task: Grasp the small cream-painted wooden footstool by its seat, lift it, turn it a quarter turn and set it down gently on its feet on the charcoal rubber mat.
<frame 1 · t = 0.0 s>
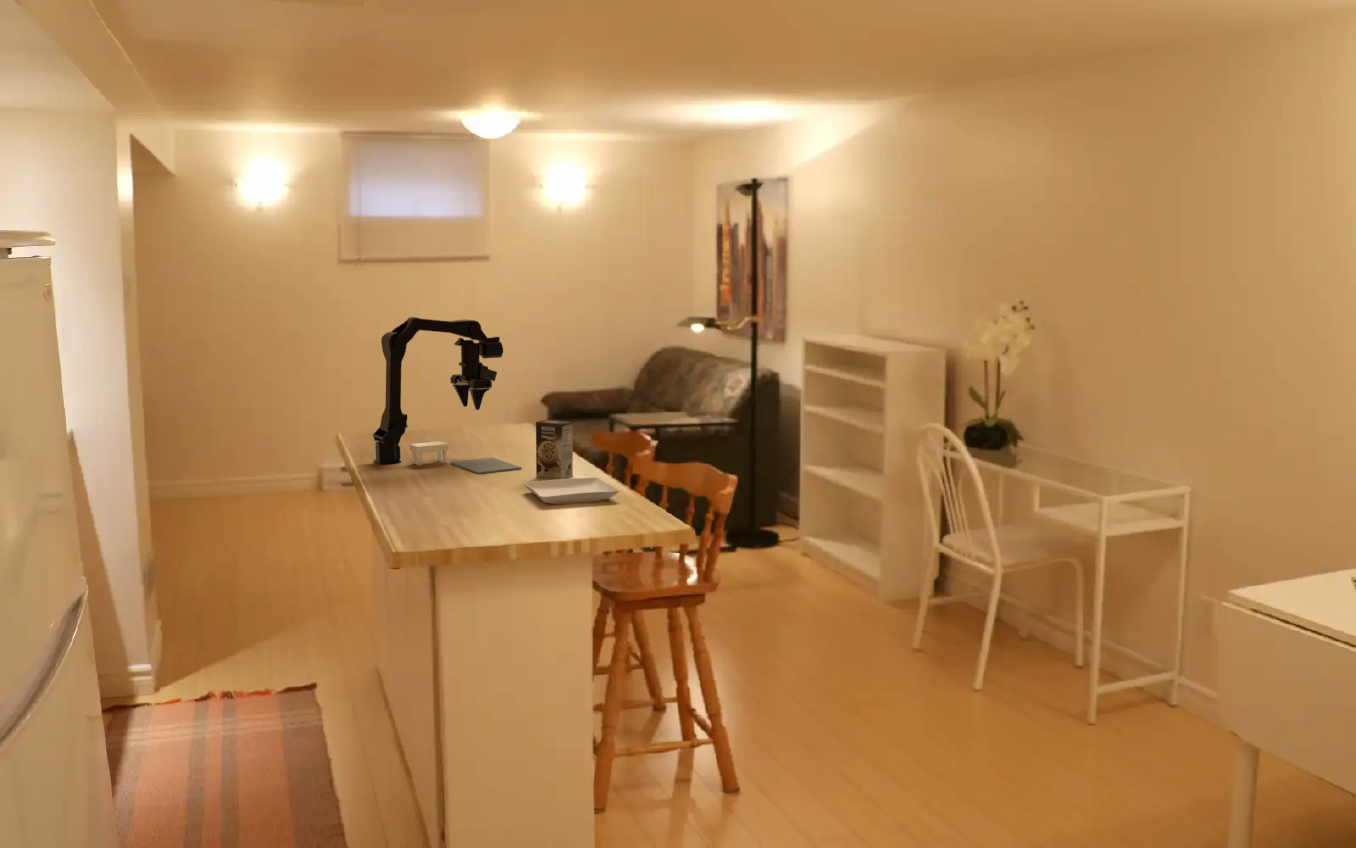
hand: (471, 408, 381), 15 cm above the table, fingers open, 9 cm apart
mat: (485, 466, 361), on the table
footstool: (429, 463, 366), on the table
coffee box: (554, 477, 346), on the table
salad plate: (570, 498, 319), on the table
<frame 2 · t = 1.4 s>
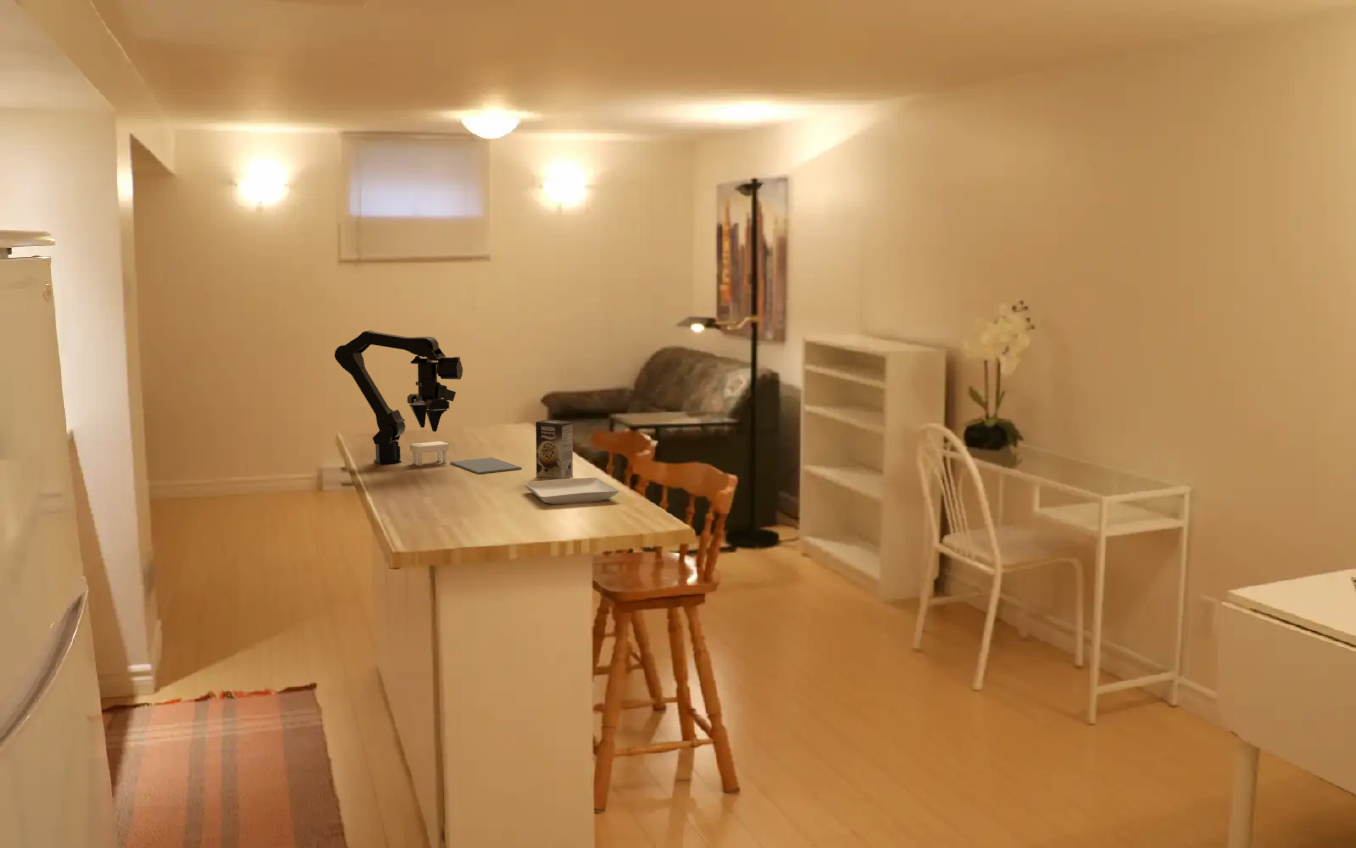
hand: (428, 429, 364), 10 cm above the table, fingers open, 9 cm apart
nothing on the table moved.
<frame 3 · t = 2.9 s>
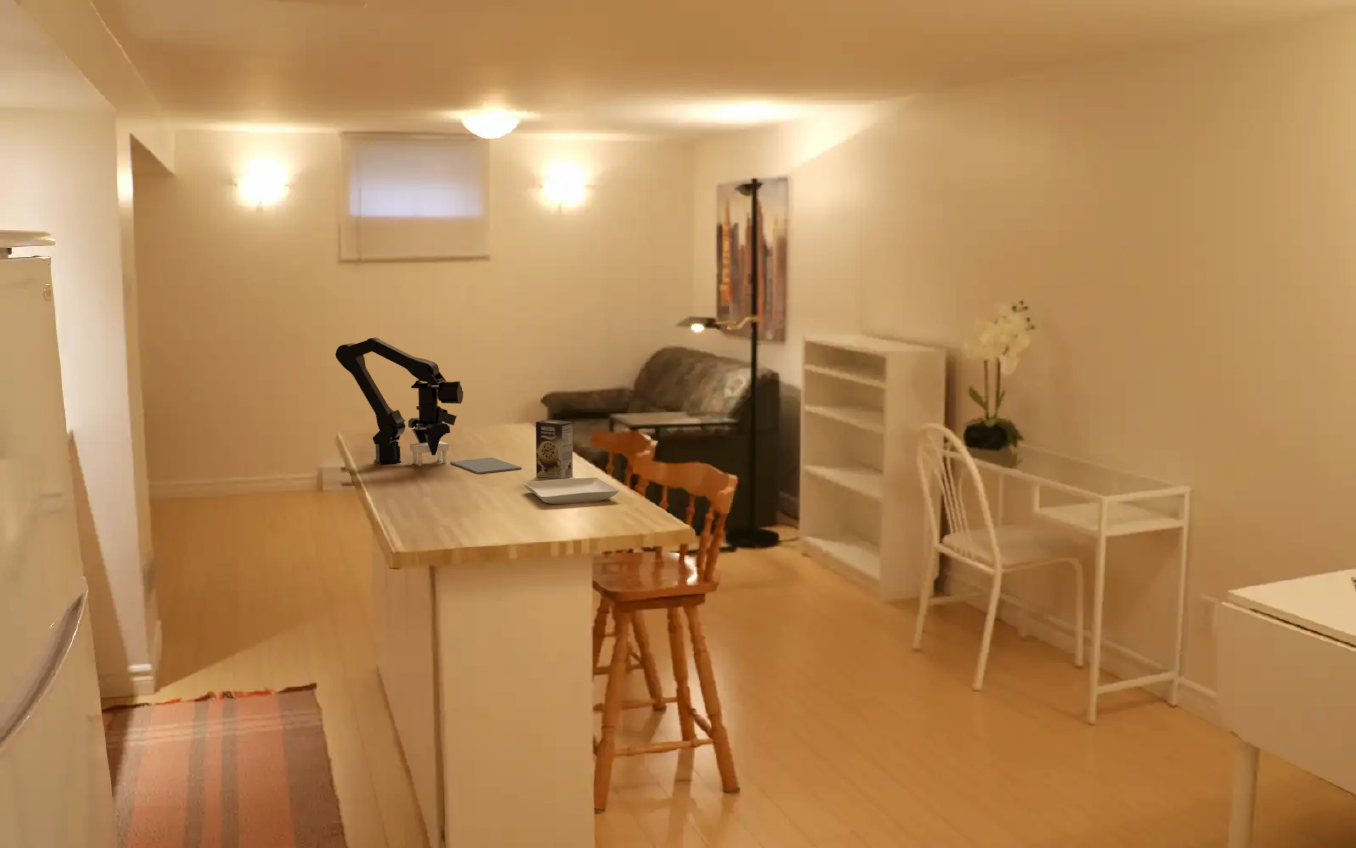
hand: (429, 453, 365), 3 cm above the table, fingers closed on footstool, 6 cm apart
footstool: (429, 463, 366), on the table, touching gripper
everything else where it was.
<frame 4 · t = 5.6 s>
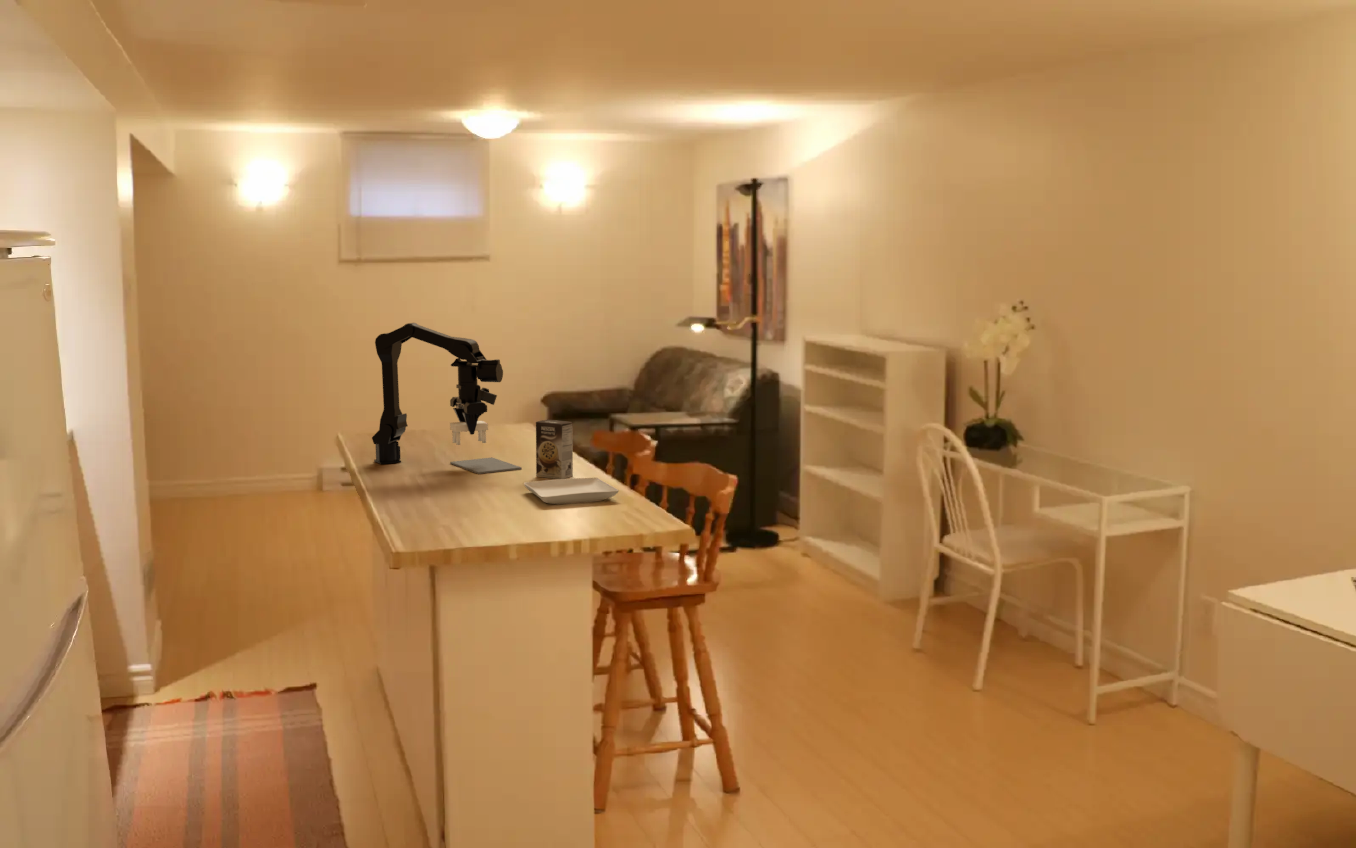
hand: (469, 432, 360), 10 cm above the table, fingers closed on footstool, 6 cm apart
footstool: (469, 442, 361), point 7 cm above the table, touching gripper
everything else where it was.
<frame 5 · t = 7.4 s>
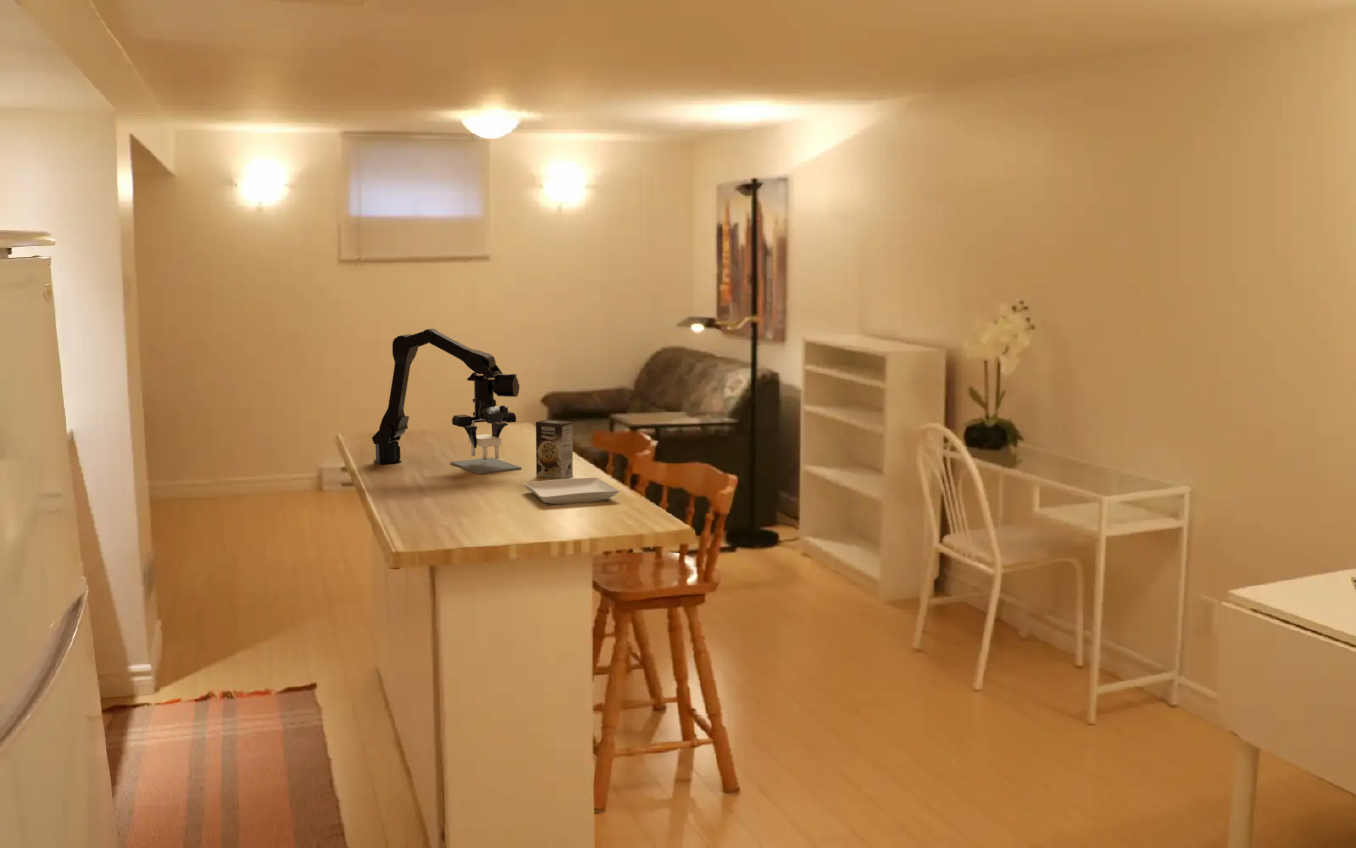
hand: (484, 447, 360), 6 cm above the table, fingers closed on footstool, 6 cm apart
footstool: (485, 456, 360), point 3 cm above the table, touching gripper
everything else where it was.
when the fingers open (5 cm above the table, at t = 8.5 s): footstool drops 1 cm, resting on mat.
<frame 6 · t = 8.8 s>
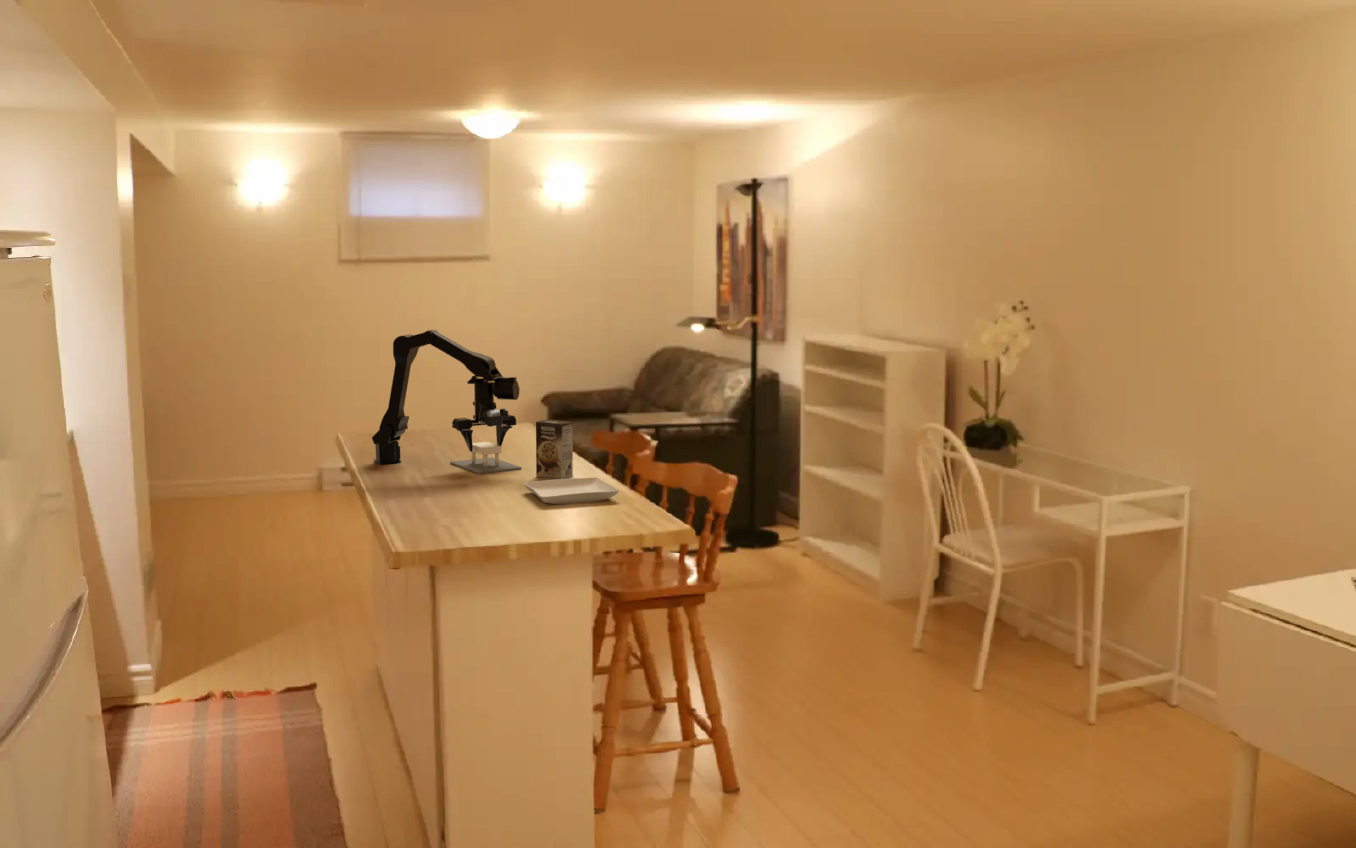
hand: (485, 450, 360), 5 cm above the table, fingers open, 9 cm apart
footstool: (485, 464, 361), point 1 cm above the table, touching mat
everything else where it was.
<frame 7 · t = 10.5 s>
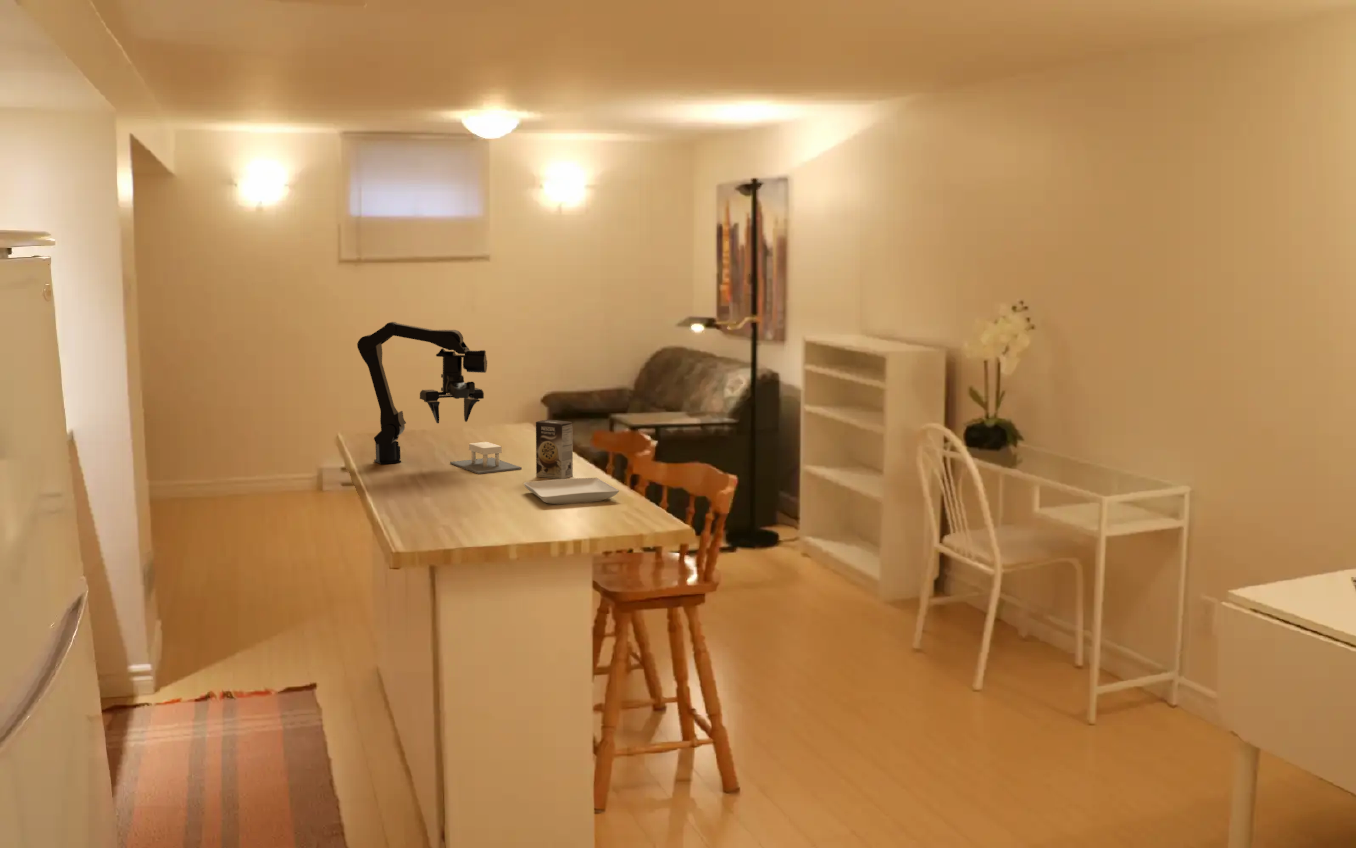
hand: (451, 422, 366), 12 cm above the table, fingers open, 9 cm apart
nothing on the table moved.
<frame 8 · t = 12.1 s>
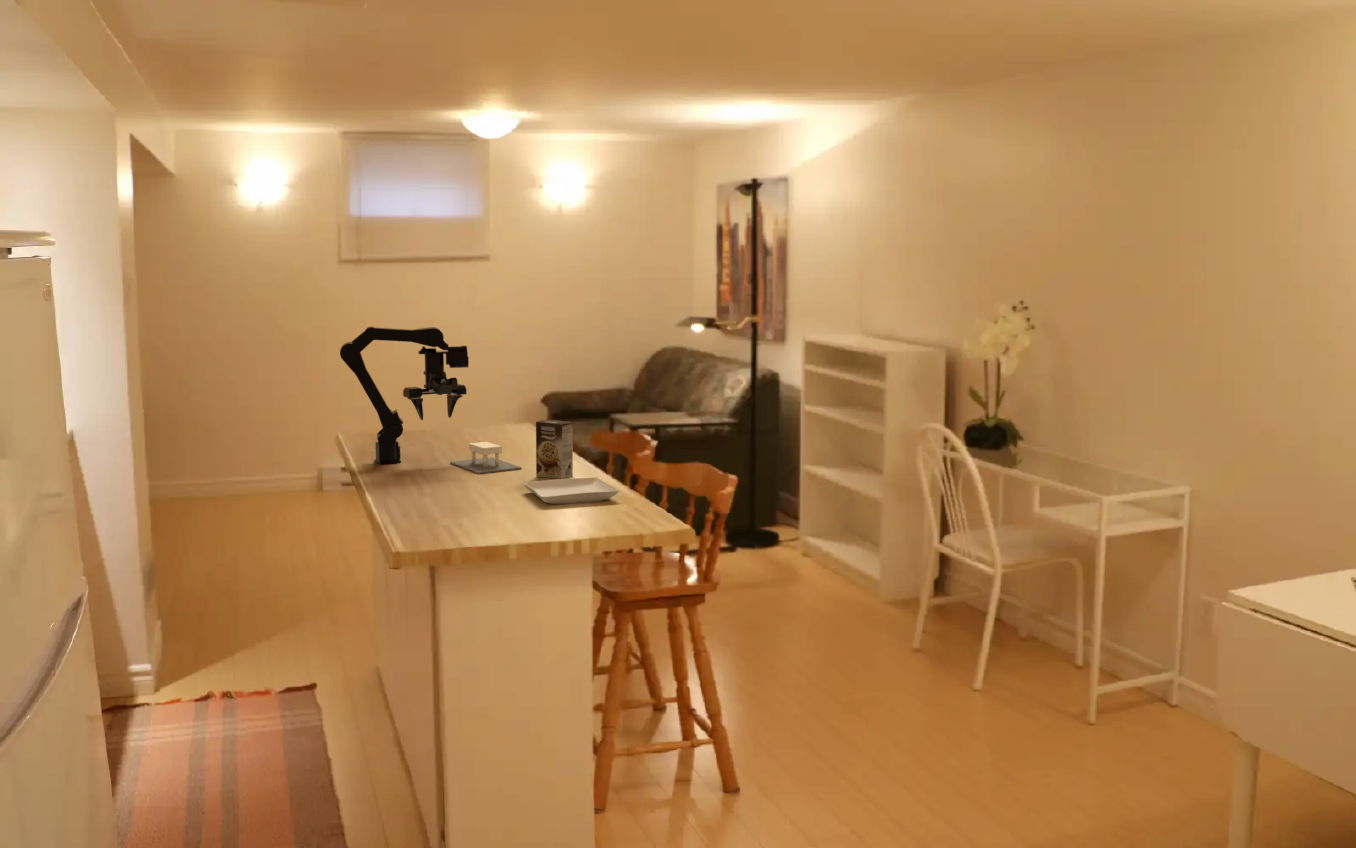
hand: (435, 418, 369), 13 cm above the table, fingers open, 9 cm apart
nothing on the table moved.
at the end: footstool inside the target area on the mat (0.0 cm from its centre), point 0.6 cm above the mat's base; footstool tilted 0°; the gripper is holding nothing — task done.
